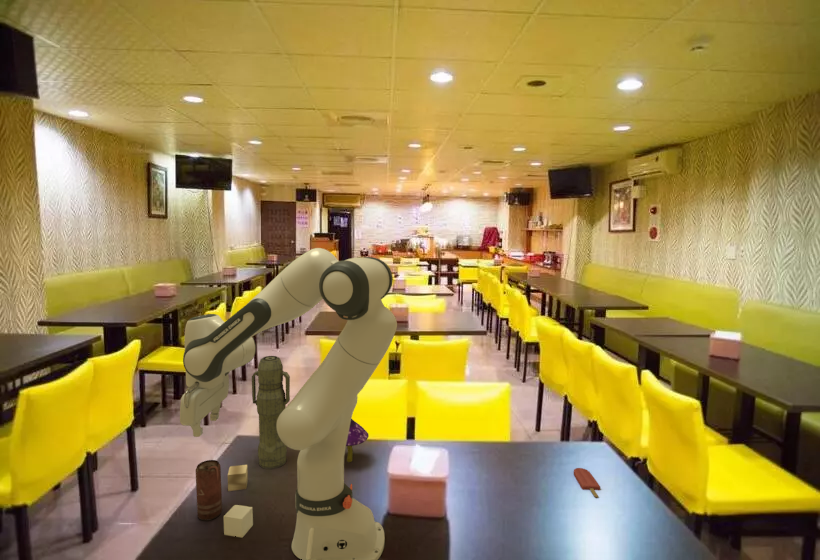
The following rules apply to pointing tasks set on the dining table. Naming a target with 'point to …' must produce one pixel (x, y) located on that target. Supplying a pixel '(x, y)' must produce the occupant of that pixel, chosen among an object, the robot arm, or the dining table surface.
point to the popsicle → (586, 480)
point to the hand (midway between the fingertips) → (206, 427)
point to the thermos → (270, 410)
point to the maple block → (237, 477)
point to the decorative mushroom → (355, 437)
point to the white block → (238, 521)
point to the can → (208, 490)
